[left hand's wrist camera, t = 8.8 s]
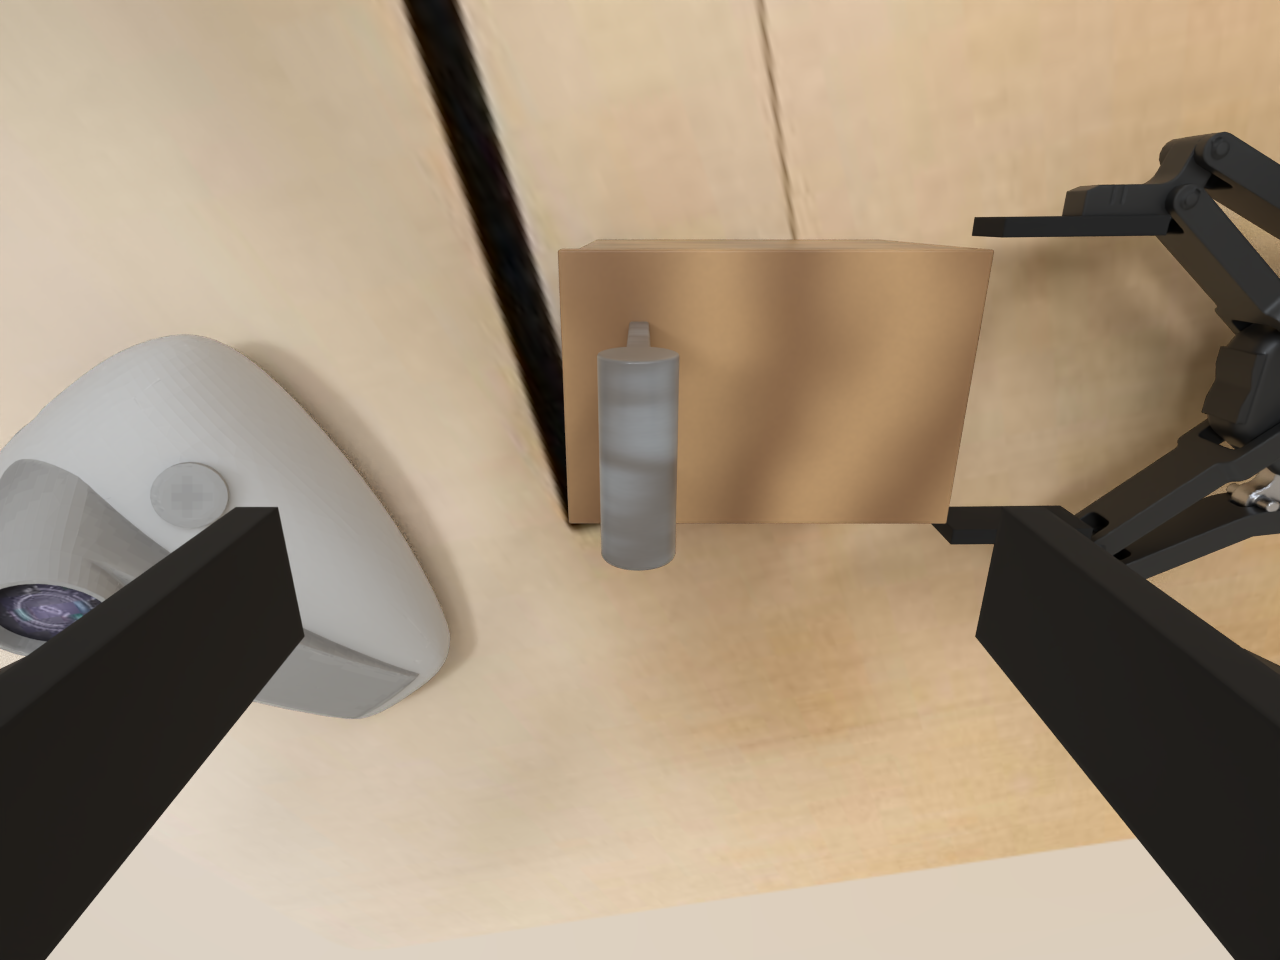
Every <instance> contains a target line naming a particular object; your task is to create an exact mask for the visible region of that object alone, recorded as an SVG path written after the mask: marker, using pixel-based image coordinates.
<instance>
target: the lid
mask: <svg viewBox="0 0 1280 960" xmlns="http://www.w3.org/2000/svg"><path fill="white" fill-rule="evenodd" d="M993 254H994V251H993V250H988V249H561V250H559V251H558V264H559V288H560V313H561V338H562V362H563V387H564V412H565V437H566V461H567V486H568V511H569V523H601V554H602V556H603V558H604V560H605V561H606V562H608V563H609V564H611V565H613V566H615V567H618V568H622V569H627V570H650V569H655V568H659V567H662V566H664V565H666V564H668V563H669V562H671V560H672V559H673V558H674V556H675V547H676V523H923V524H945V523H946V521H947V515H948V509H949V504H950V498H951V492H952V487H953V481H954V475H955V470H956V464H957V458H958V453H959V447H960V441H961V436H962V430H963V424H964V419H965V413H966V407H967V402H968V396H969V390H970V384H971V379H972V373H973V367H974V362H975V356H976V350H977V345H978V339H979V333H980V328H981V322H982V316H983V311H984V305H985V299H986V294H987V288H988V282H989V277H990V271H991V265H992V259H993Z"/></svg>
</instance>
